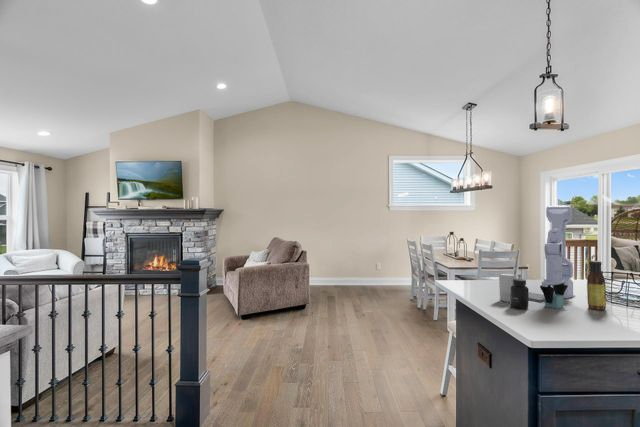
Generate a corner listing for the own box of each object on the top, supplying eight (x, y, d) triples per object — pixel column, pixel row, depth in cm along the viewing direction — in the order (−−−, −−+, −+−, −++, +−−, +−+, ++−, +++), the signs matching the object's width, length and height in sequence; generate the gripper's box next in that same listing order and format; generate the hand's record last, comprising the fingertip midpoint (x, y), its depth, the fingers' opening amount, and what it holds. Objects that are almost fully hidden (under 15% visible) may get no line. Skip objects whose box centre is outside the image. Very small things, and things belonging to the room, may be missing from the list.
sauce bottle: (609, 311, 150) (609, 262, 150) (592, 310, 151) (592, 262, 151) (600, 307, 156) (600, 260, 156) (584, 306, 158) (583, 260, 158)
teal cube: (551, 304, 161) (551, 293, 161) (563, 307, 157) (563, 295, 157) (544, 306, 159) (544, 294, 159) (556, 308, 155) (556, 296, 155)
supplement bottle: (510, 308, 155) (510, 280, 155) (510, 305, 161) (510, 277, 161) (528, 310, 151) (528, 281, 151) (528, 306, 157) (528, 278, 157)
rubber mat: (530, 294, 181) (530, 292, 181) (555, 299, 171) (555, 297, 171) (515, 297, 176) (515, 294, 176) (540, 302, 165) (540, 300, 165)
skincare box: (517, 301, 167) (516, 274, 167) (512, 302, 164) (512, 275, 164) (503, 298, 172) (503, 273, 172) (498, 300, 169) (498, 274, 169)
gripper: (553, 268, 165) (553, 298, 165) (534, 270, 158) (534, 302, 158) (570, 270, 159) (570, 301, 159) (551, 272, 152) (551, 305, 152)
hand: (554, 301), depth 158 cm, fingers open, 7 cm apart
